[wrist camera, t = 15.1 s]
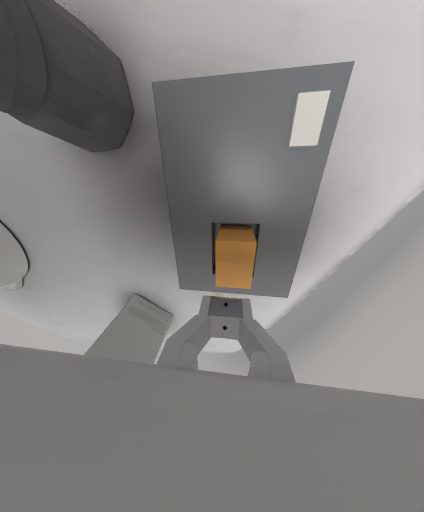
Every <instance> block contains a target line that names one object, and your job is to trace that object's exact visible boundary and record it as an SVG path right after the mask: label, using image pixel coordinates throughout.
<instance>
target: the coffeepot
mask: <svg viewBox="0 0 424 512" xmlns="http://www.w3.org/2000/svg"><path fill="white" fill-rule="evenodd" d="M0 111H2V112H5V113H8V114H9V115H11V116H13V117H14V118H16V119H17V120H19V121H20V122H22V123H24V124H26V125H29V126H31V127H33V128H36V129H38V130H41V131H43V132H45V133H48V134H50V135H53V136H55V137H57V138H60V139H62V140H64V141H67V142H69V143H72V144H74V145H76V146H79V147H81V148H84V149H86V150H88V151H91V152H95V151H104V150H110V149H113V148H119V147H120V146H121V144H122V143H123V141H124V139H125V137H126V135H127V133H128V130H129V127H130V123H131V117H132V114H133V109H132V103H131V98H130V92H129V88H128V85H127V81H126V78H125V76H124V74H123V70H122V66H121V62H120V59H119V58H118V57H117V56H116V55H115V54H114V53H113V52H112V51H111V50H110V49H109V48H108V47H107V46H106V45H105V44H104V43H103V42H102V41H101V40H100V39H99V38H98V37H97V36H96V35H95V34H94V33H93V32H92V31H91V30H89V29H88V28H87V27H86V26H85V25H84V24H83V23H82V22H81V21H80V20H78V19H77V18H76V17H75V16H73V15H72V14H71V13H69V12H68V11H67V10H65V9H64V8H63V7H61V6H60V5H59V4H57V3H56V2H55V1H54V0H0Z"/></svg>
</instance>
